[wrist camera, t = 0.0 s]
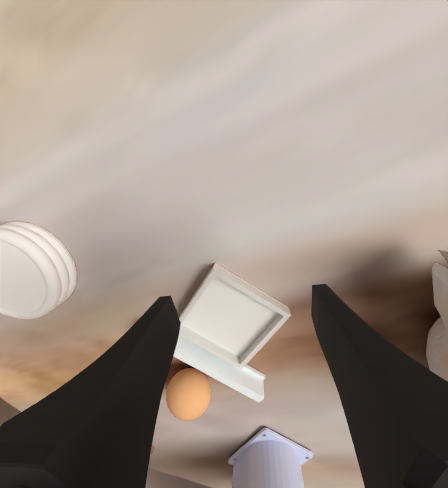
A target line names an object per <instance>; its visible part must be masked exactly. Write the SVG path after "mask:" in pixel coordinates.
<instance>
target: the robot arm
mask: <svg viewBox="0 0 448 488" xmlns="http://www.w3.org/2000/svg"><path fill="white" fill-rule="evenodd" d="M311 316H312V319H313V323H314V327H315V331H316V334H317V337H318V340H319V343H320V345H321V348H322V350H323V353H324V355H325V358H326V361H327V363H328V366H329V368H330V371H331V373H332V376H333V378H334V381H335V384H336V387H337V389H338V392H339V395H340V399H341V402H342V406H343V409H344V412H345V416H346V419H347V423H348V426H349V430H350V433H351V437H352V441H353V444H354V448H355V452H356V455H357V459H358V463H359V467H360V470H361V474H362V478H363V482H364V486H365V488H448V381H446V380H445V379H443V378H441V377H440V376H438V375H437V374H435V373H433V372H432V371H430V370H429V369H427V368H426V367H424V366H423V365H421V364H420V363H418V362H416V361H415V360H413V359H412V358H411V357H409V356H408V355H406V354H405V353H403V352H402V351H401V350H399V349H398V348H397V347H395V346H394V345H393V344H391V343H390V342H389V341H387V340H386V339H385V338H384V337H382V336H381V335H380V334H379V333H377V332H376V331H375V330H374V329H373V328H371V327H370V326H369V325H368V324H367V323H366V322H364V321H363V320H362V319H361V318H360V317H359V316H358V315H357V314H356V313H355V312H353V311H352V310H351V309H350V308H349V307H348V306H347V305H346V304H345V303H344V302H343V301H342V300H341V299H340V298H339V297H338V296H337V295H336V294H335V293H334V292H333V291H332V290H331V289H330V288H329V287H328V286H327V285H326V284H320V285H312V315H311ZM180 325H181V322H180V320H179V317H178V314H177V311H176V309H175V306H174V303H173V300H172V298H171V296H164V297H159V298H158V299H157V300H156V301H155V303H154V304H153V305H152V306H151V307H150V308H149V309H148V310H147V311H146V312H145V313H144V315H143V316H142V317H141V318H140V319H139V320H138V321H137V322H136V323H135V324H134V325H133V326H132V327H131V328H130V329H129V330H128V331H127V332H126V333H125V334H124V335H123V336H122V337H121V338H120V339H119V340H118V341H117V342H116V343H115V344H114V345H113V346H112V347H111V348H109V349H108V350H107V351H106V352H105V353H104V354H103V355H101V356H100V357H99V358H98V359H97V360H96V361H94V362H93V363H92V364H91V365H89V366H88V367H87V368H85V369H84V370H83V371H82V372H80V373H79V374H78V375H76V376H75V377H74V378H72V379H71V380H70V381H68V382H67V383H66V384H64V385H63V386H61V387H60V388H58V389H57V390H56V391H54V392H53V393H51V394H50V395H48V396H47V397H45V398H44V399H42V400H40V401H39V402H37V403H36V404H34V405H33V406H31V407H29V408H28V409H26V410H24V411H23V412H21V413H19V414H18V415H16V416H14V417H13V418H11V419H10V420H8V421H6V422H4V423H3V424H2V425H1V427H0V488H145V484H146V478H147V471H148V464H149V458H150V452H151V446H152V440H153V435H154V430H155V424H156V419H157V414H158V410H159V405H160V400H161V395H162V392H163V388H164V384H165V381H166V378H167V375H168V371H169V368H170V365H171V362H172V359H173V355H174V352H175V349H176V345H177V342H178V337H179V331H180ZM312 457H313V453H312V452H311V451H310V450H308V449H306V448H304V447H302V446H300V445H298V444H296V443H295V442H293V441H291V440H289V439H287V438H285V437H283V436H281V435H280V434H278V433H276V432H274V431H272V430H270V429H268V428H263V429H262V430H261V431H259V432H258V433H257V434H256V435H255V436H254V437H253V438H251V439H250V440H249V441H248V442H247V443H246V444H245V445H243V446H242V447H241V448H240V449H239V450H238V451H236V452H235V453H234V454H233V455H232V456H231V457H230V458H229V459H228V463H229V464H231V465H233V481H232V488H304V483H303V477H302V471H301V465H302V464H304V463H305V462H307V461H308V460H310V459H311V458H312Z"/></svg>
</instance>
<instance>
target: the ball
mask: <svg viewBox="0 0 448 488" xmlns="http://www.w3.org/2000/svg"><path fill="white" fill-rule="evenodd" d="M210 395H211V388H210V384H209V381H208V379H207V377H206V376H205V375H204V373H202V372H201V371H200V370H198V369H195V368H186V369H183V370H181V371H179V372H178V373H176V374H175V375H174V376H173V378H172V379H171V381H170V382H169V385H168V388H167V392H166V401H167V405H168V408H169V410H170V412H171V413H172V414H173V415H174V416H175V417H176V418H178V419H180V420H184V421H189V420H193V419H196V418H197V417H199V416H200V415H201V414H202V413H203V412H204V411H205V410H206V408H207V406H208V404H209V401H210Z"/></svg>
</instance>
